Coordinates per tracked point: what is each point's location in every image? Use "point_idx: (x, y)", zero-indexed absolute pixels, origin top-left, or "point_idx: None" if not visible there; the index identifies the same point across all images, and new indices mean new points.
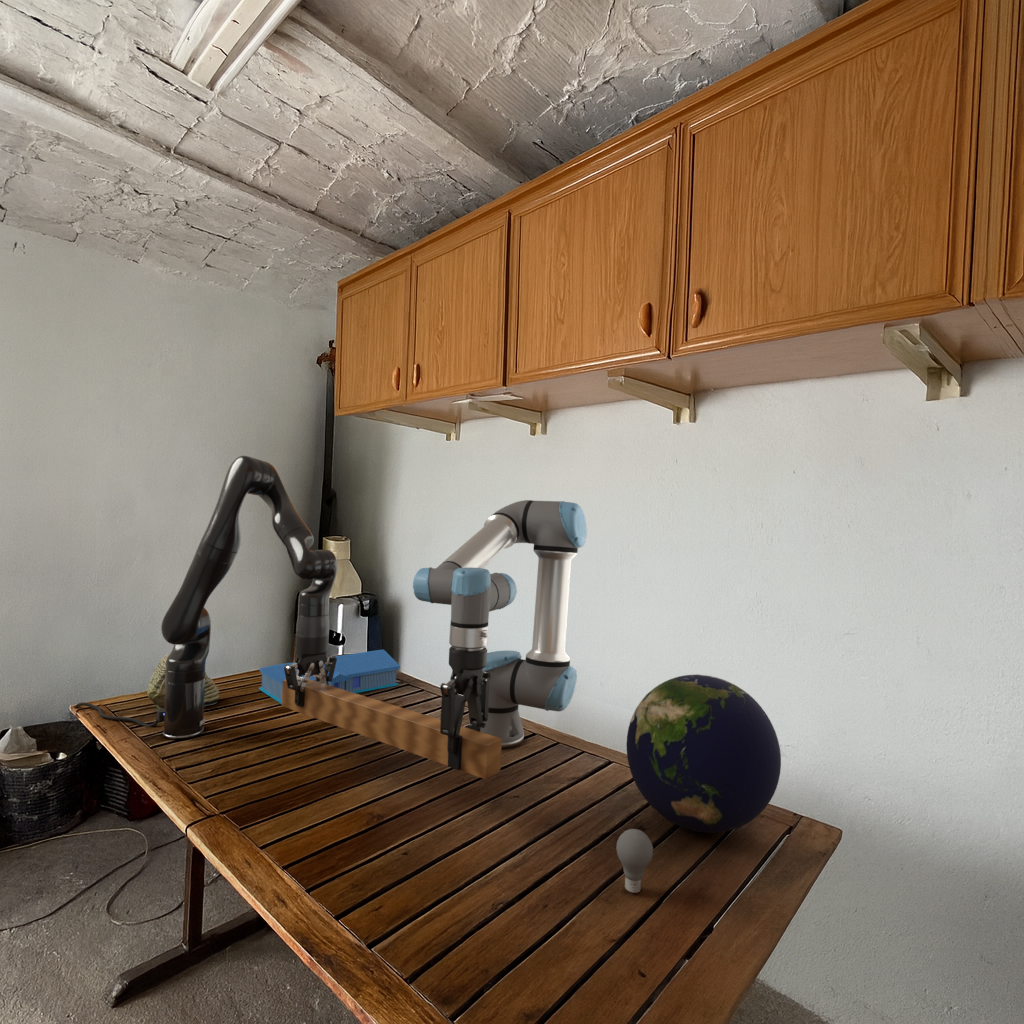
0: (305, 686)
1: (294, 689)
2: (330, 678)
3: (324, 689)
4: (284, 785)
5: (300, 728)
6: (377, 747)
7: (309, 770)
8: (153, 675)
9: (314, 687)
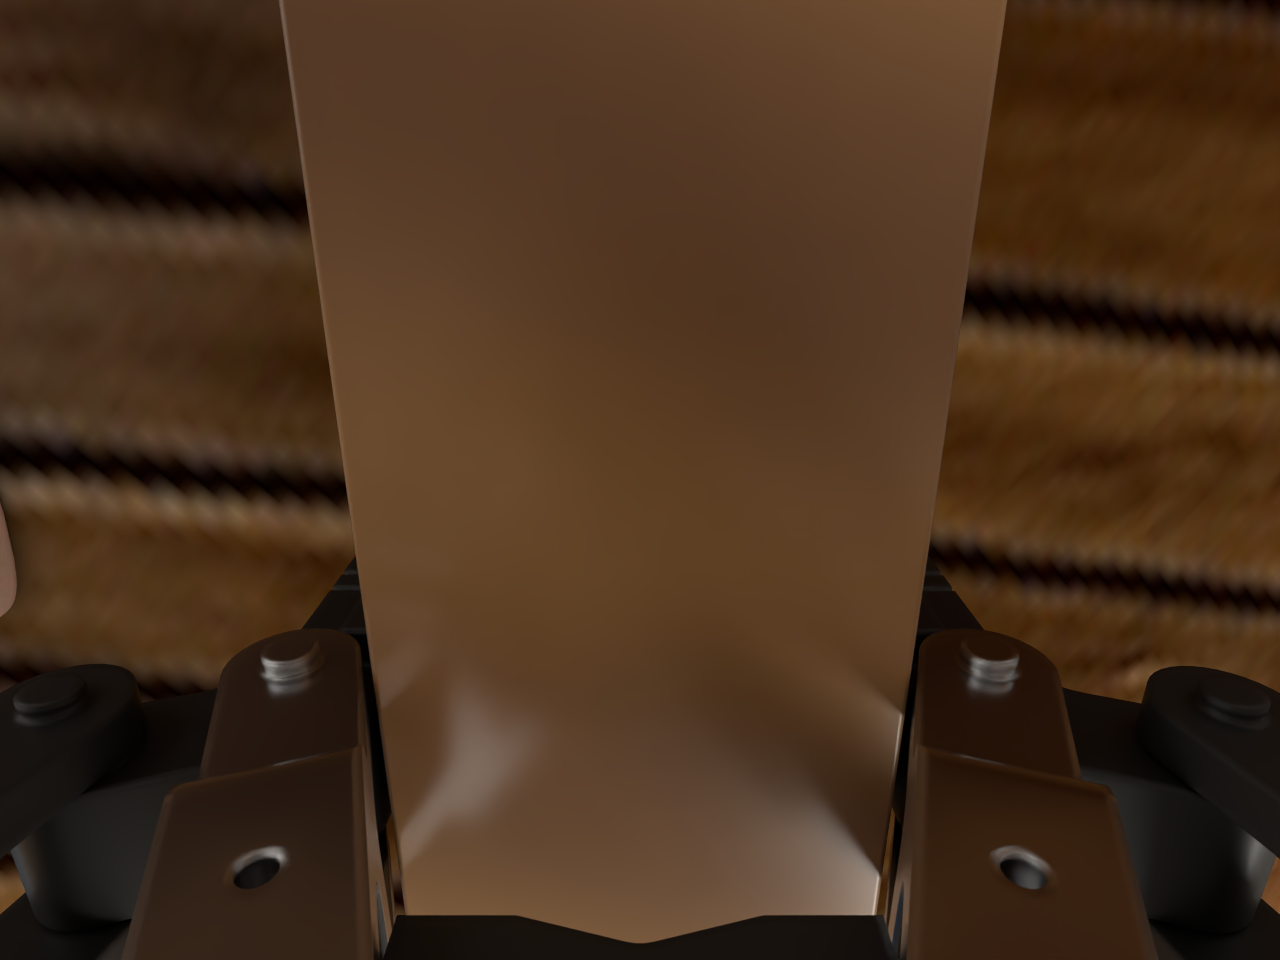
0: (861, 722)
1: (1262, 688)
2: (41, 713)
3: (718, 120)
4: (1074, 89)
5: None
6: (61, 96)
7: None
8: None
9: (780, 503)
